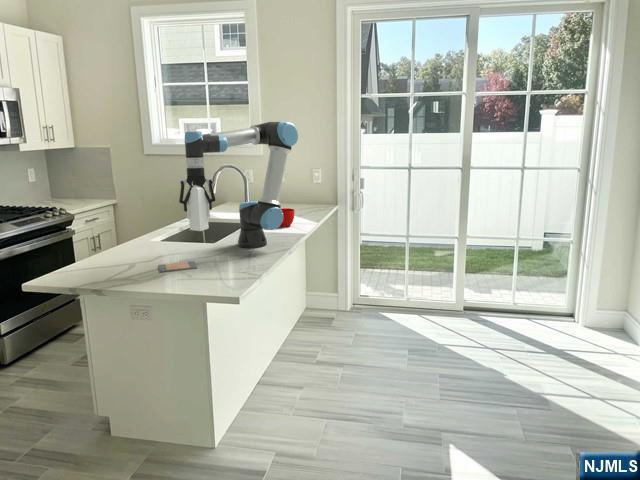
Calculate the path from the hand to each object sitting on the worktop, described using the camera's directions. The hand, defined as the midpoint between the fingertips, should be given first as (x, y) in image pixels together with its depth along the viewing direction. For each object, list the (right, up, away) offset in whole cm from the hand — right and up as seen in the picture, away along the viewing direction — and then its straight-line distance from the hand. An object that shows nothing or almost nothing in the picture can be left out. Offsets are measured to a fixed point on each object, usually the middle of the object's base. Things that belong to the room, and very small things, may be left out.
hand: (198, 217), depth 227 cm
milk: (0, -5, +1) cm, 6 cm away
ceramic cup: (+33, -1, +86) cm, 92 cm away
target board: (-10, -22, +1) cm, 24 cm away
